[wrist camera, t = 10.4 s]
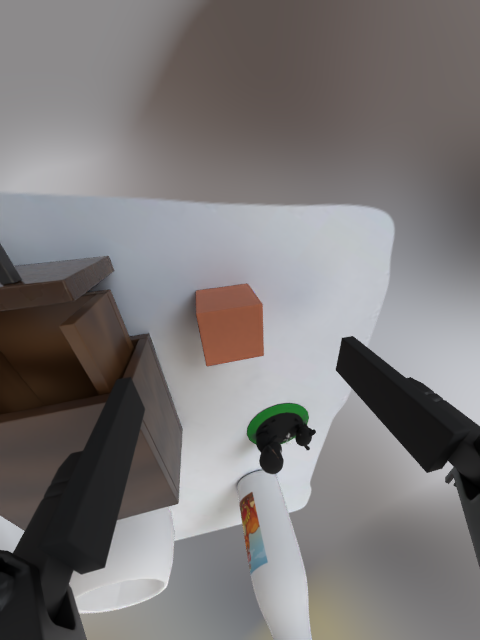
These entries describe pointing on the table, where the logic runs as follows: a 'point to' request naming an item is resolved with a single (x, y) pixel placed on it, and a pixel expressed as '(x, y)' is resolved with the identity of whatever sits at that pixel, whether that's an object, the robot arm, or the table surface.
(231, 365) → the table surface
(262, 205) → the table surface
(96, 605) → the cup
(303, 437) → the toy figurine
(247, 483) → the milk bottle
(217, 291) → the block
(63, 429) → the cabinet
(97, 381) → the drawer
